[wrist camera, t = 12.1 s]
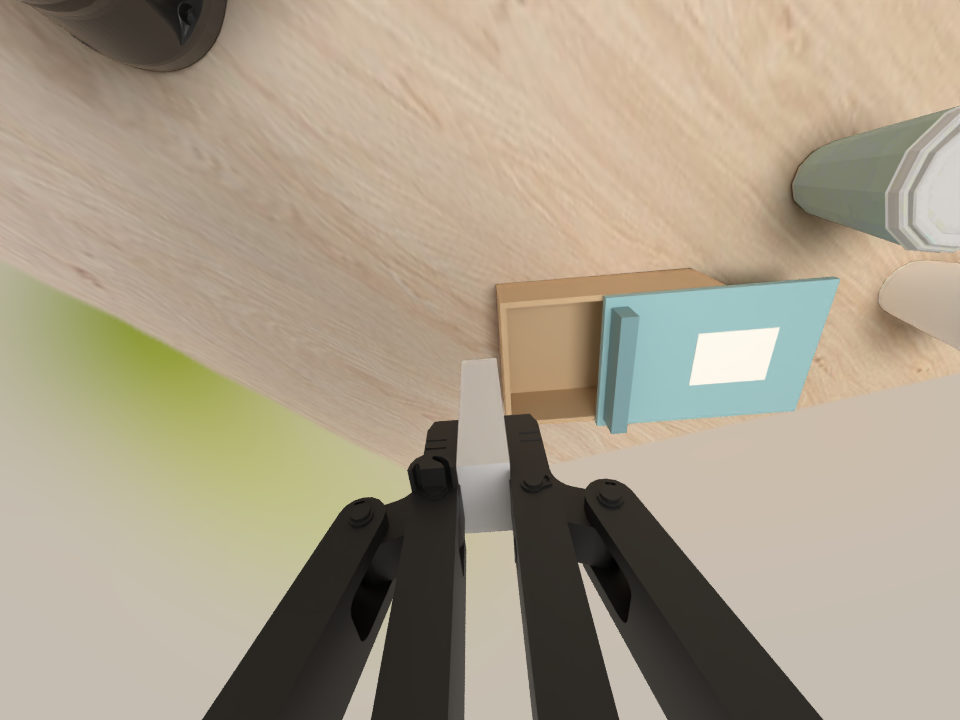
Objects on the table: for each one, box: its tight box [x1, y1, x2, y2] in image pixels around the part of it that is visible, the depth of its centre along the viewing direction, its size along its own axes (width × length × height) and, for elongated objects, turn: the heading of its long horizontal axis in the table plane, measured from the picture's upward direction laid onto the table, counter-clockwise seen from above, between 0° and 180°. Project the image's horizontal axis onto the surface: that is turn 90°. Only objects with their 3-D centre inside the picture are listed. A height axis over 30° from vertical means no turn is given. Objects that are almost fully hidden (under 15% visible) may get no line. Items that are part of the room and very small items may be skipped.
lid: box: [595, 277, 840, 434], centre depth 39 cm, size 22×15×4 cm
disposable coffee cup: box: [792, 106, 960, 253], centre depth 33 cm, size 11×11×15 cm
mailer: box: [496, 268, 725, 425], centre depth 44 cm, size 22×15×7 cm
